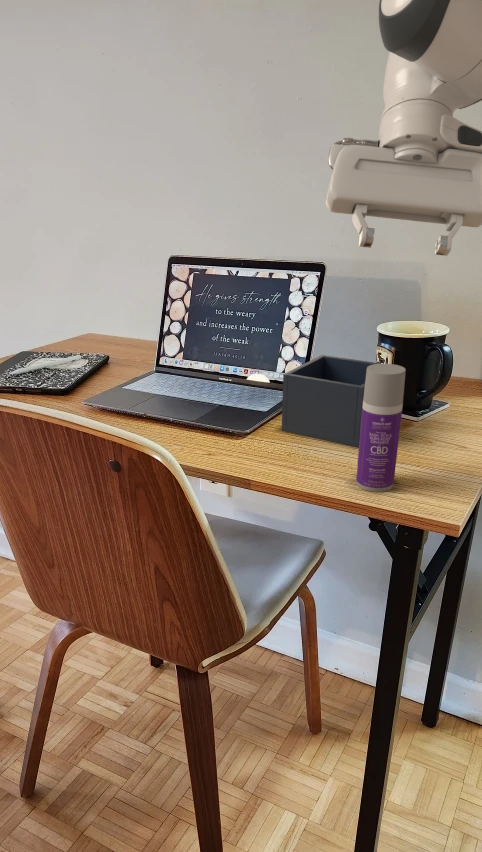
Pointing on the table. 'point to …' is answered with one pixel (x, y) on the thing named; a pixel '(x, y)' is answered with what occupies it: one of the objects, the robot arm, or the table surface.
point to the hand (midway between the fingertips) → (404, 249)
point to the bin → (325, 399)
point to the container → (380, 427)
